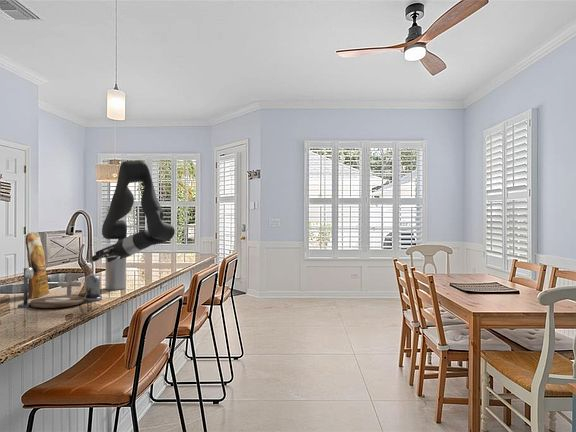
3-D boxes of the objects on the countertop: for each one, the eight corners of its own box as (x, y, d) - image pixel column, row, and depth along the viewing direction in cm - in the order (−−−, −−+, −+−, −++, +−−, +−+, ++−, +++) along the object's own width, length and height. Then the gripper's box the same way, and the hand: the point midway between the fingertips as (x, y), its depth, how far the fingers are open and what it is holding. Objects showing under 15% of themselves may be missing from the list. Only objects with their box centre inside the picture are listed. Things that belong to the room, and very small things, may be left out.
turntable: (41, 300, 187) (41, 295, 187) (89, 299, 190) (89, 295, 190) (21, 310, 168) (21, 305, 168) (75, 309, 171) (75, 304, 171)
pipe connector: (86, 293, 204) (86, 271, 204) (73, 297, 194) (73, 274, 194) (65, 293, 205) (65, 271, 205) (51, 297, 195) (51, 274, 195)
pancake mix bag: (19, 299, 189) (19, 233, 189) (37, 291, 208) (38, 231, 208) (36, 299, 190) (36, 233, 190) (53, 291, 209) (53, 231, 209)
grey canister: (86, 298, 193) (86, 273, 193) (103, 298, 194) (103, 272, 194) (81, 301, 186) (81, 275, 185) (99, 301, 187) (99, 275, 187)
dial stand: (22, 305, 177) (22, 267, 177) (33, 305, 178) (33, 267, 178) (17, 307, 173) (17, 268, 173) (28, 307, 174) (28, 268, 173)
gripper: (139, 238, 191) (110, 252, 196) (115, 235, 178) (85, 250, 183) (143, 255, 190) (114, 268, 194) (119, 253, 176) (89, 267, 181)
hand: (100, 259), depth 189 cm, fingers open, 8 cm apart
